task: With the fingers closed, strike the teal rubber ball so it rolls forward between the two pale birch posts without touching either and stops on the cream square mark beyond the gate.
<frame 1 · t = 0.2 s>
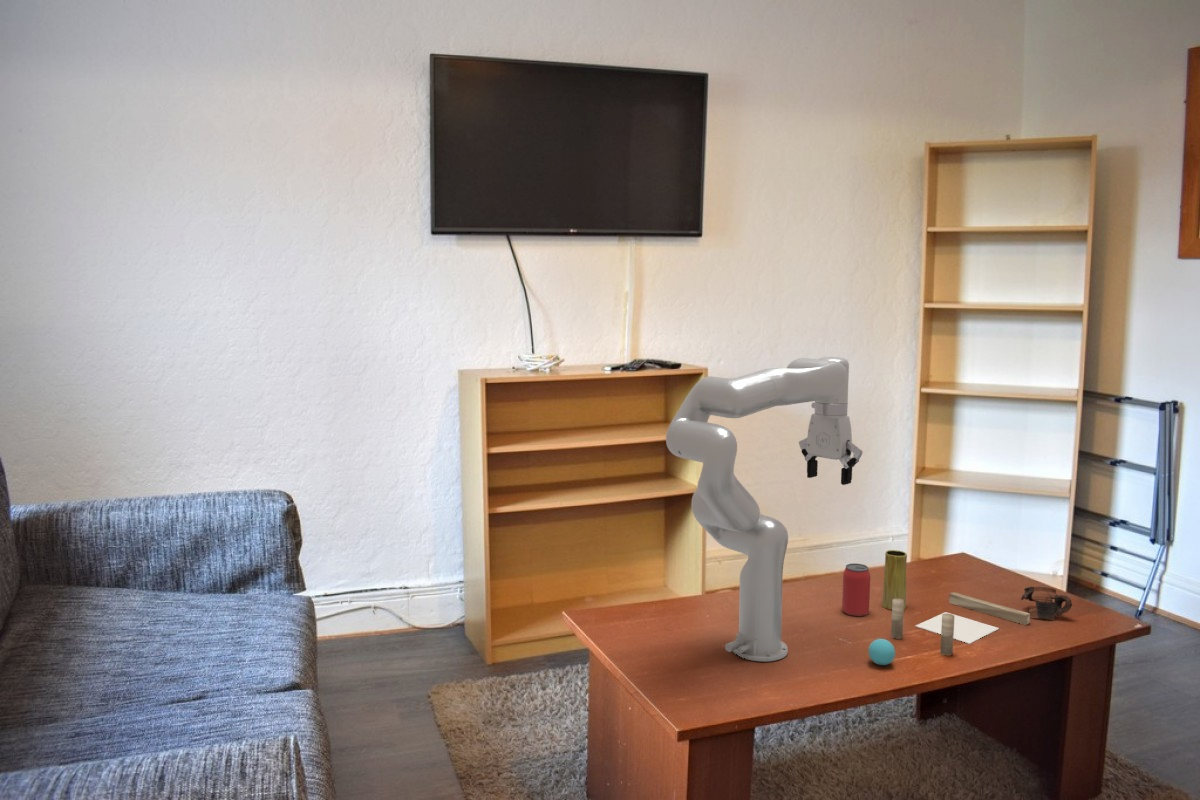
hand: (828, 480, 219), 36 cm above the table, tool pointing down, fingers open, 9 cm apart
ball: (881, 651, 202), on the table
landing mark: (957, 627, 223), on the table
vase: (893, 607, 237), on the table
post left: (896, 636, 218), on the table
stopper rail: (988, 612, 232), on the table
pottery mug: (1045, 615, 231), on the table
beer can: (855, 613, 233), on the table
post right: (946, 653, 208), on the table
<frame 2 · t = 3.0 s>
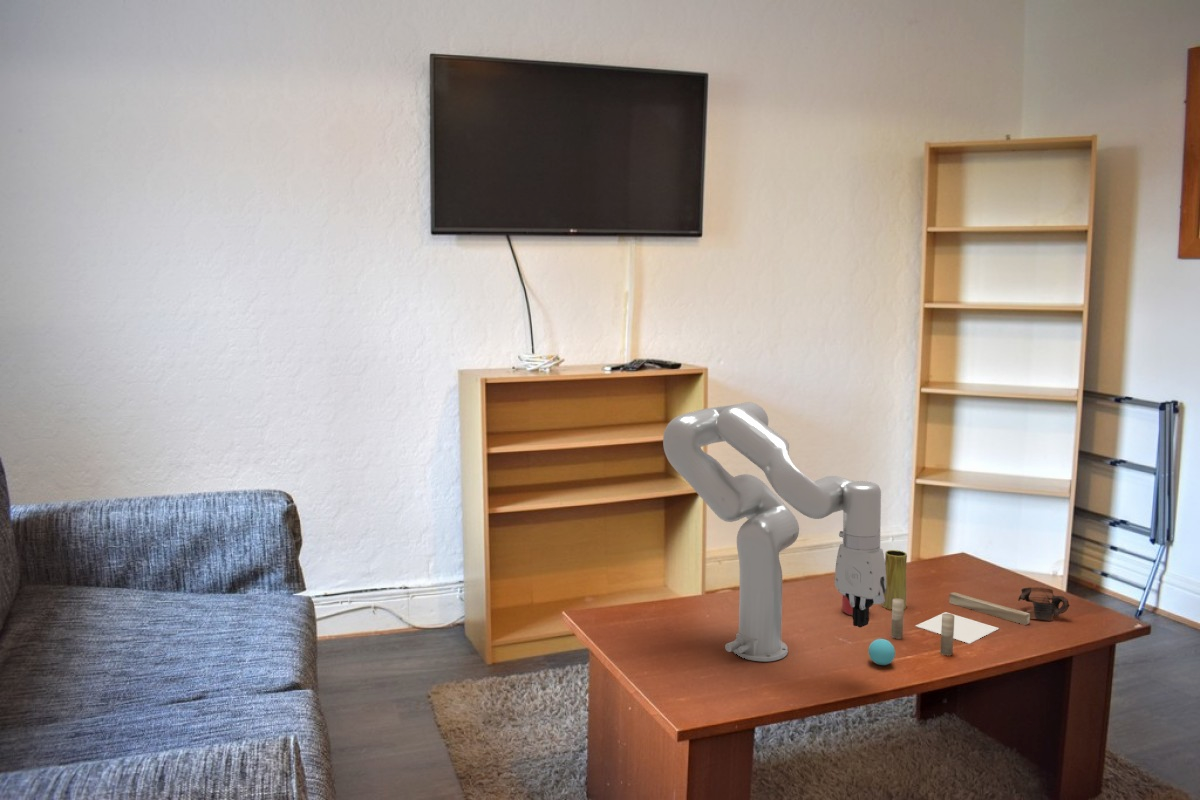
hand: (860, 624, 195), 12 cm above the table, tool pointing down, fingers closed
pottery mug: (1042, 616, 231), on the table
everything else where it was.
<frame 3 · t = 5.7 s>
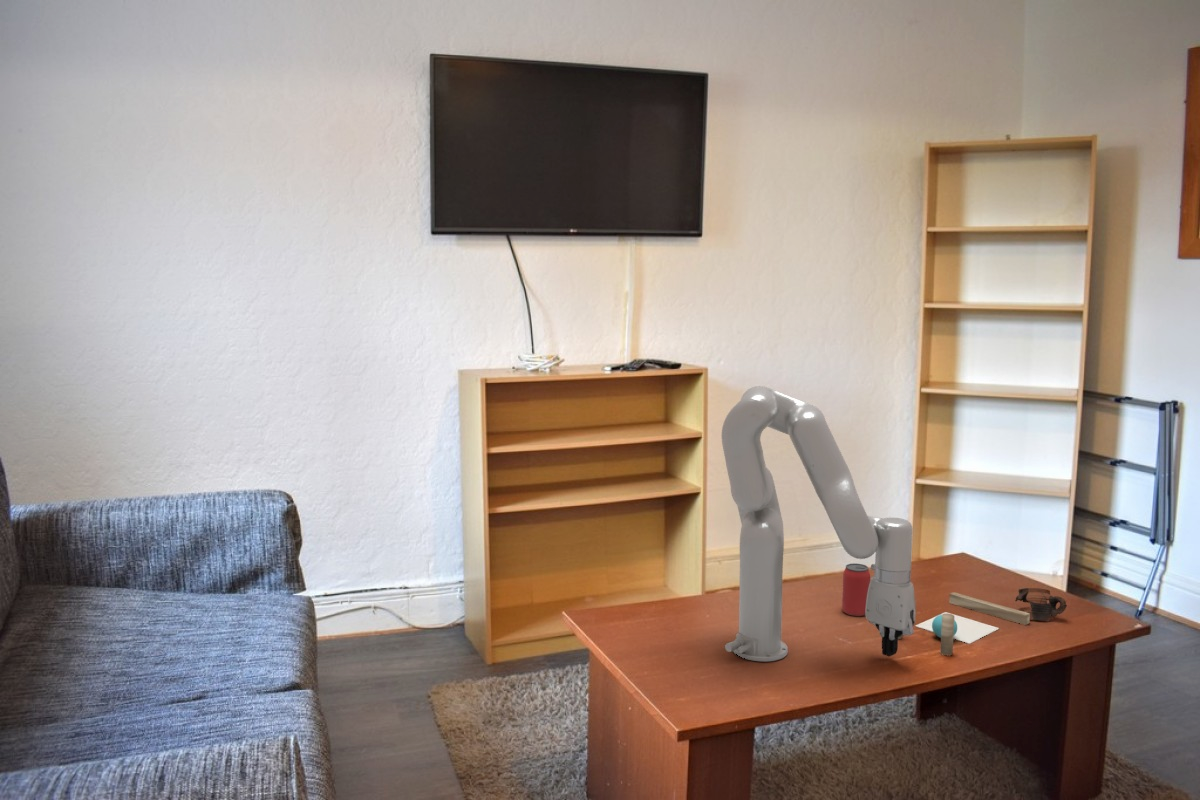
hand: (889, 653, 204), 2 cm above the table, tool pointing down, fingers closed
ball: (944, 626, 216), on the table
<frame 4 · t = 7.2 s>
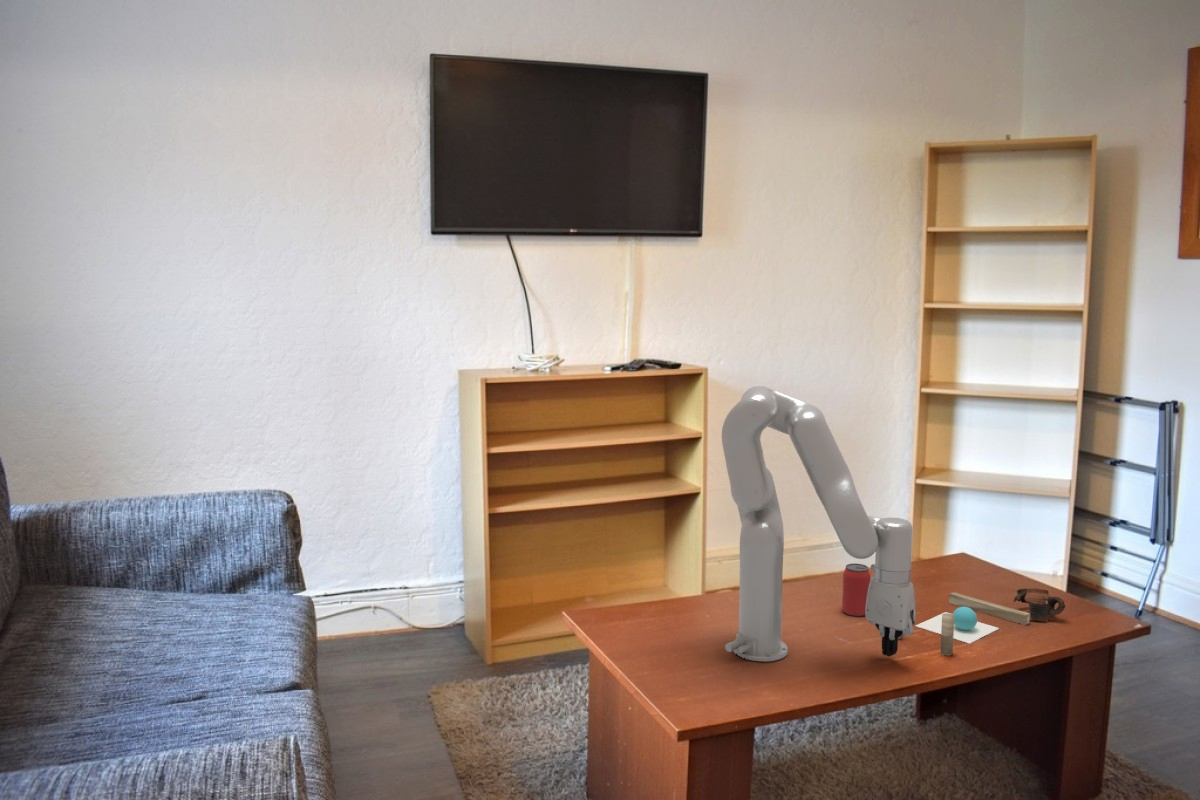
hand: (889, 653, 204), 2 cm above the table, tool pointing down, fingers closed
ball: (964, 618, 221), on the table
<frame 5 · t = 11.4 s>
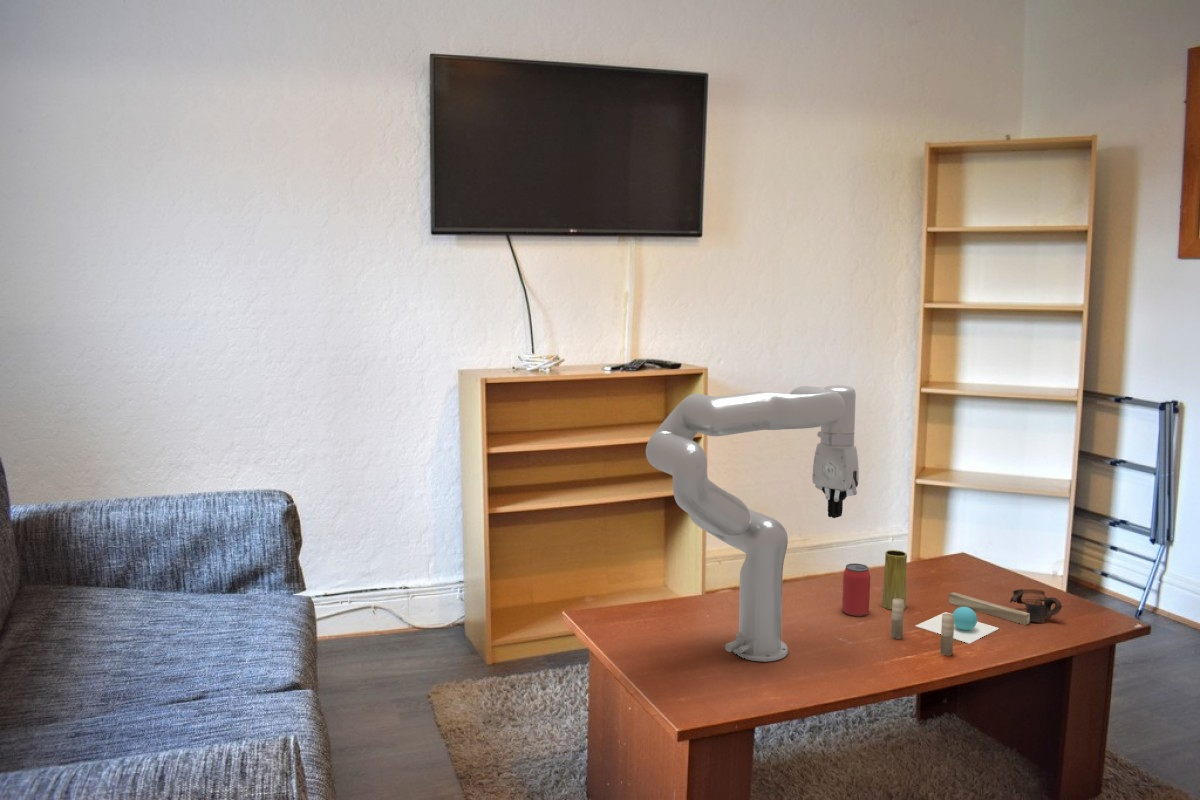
hand: (834, 516, 215), 29 cm above the table, tool pointing down, fingers closed
pottery mug: (1034, 618, 230), on the table
everything else where it was.
at the end: ball 1.7 cm from the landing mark (horizontally); ball never touched post left; ball never touched post right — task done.
